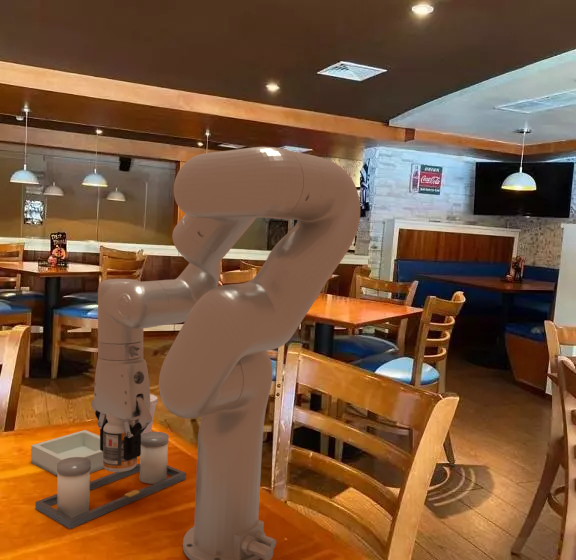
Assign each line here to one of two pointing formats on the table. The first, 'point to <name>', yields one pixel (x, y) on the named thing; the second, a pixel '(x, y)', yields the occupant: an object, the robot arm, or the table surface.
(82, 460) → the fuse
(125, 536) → the table surface
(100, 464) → the tray
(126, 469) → the pill bottle
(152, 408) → the smoothie
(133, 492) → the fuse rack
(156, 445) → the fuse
